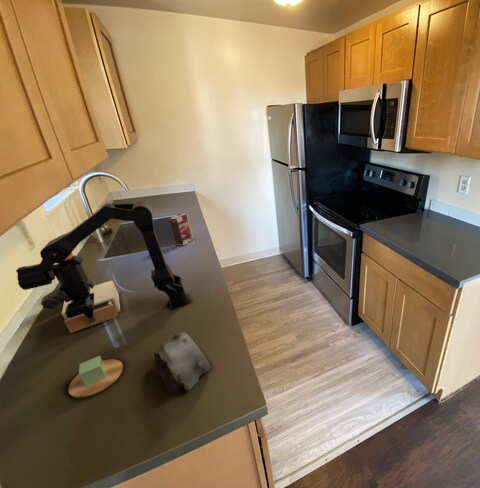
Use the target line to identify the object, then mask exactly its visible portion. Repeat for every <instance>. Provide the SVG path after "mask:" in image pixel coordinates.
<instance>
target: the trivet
mask: <svg viewBox="0 0 480 488" xmlns="http://www.w3.org/2000/svg"><path fill="white" fill-rule="evenodd" d="M102 360H103V359H102ZM103 362H104V364H105V366H106V378H104V379H102V380H99V381H97V382H95V383H93V384H91V385H88V386H85V384H84V382H83V381H82V379H81V378H80V376H79V373H78V374H77V375H76V376H75V377H74V378H73V379H72V381H71V382H70V383H69V386H68V394H69V395H70V396H71V397H72V398H74V399H85V398H89V397H93V396H95V395H97V394H99V393H101V392H103V391H105V390H106V389H107V388H109V387H110V386H111V385H113V384H114V383H115V382H116V381H117V380H118V379H119V378H120V376H121V374H122V373H123V370H124V366H123V365H124V364H123V362H121V360H118V359H115V358H109V359H104V360H103Z"/></svg>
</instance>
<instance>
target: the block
mask: <svg viewBox="0 0 480 488" xmlns="http://www.w3.org/2000/svg"><path fill="white" fill-rule="evenodd" d="M78 369H79V370H78V374H79V376H80V378H81V379H82V381H83V382H84V384H85V386H88V385H91V384H93V383H95V382H97V381H99V380H102V379H104V378H106V366H105V364H104V362H103V358H102V356H101V355H98V356H96V357H92V358H90V359H88V360H85V361H83V362H81V363H79V367H78Z"/></svg>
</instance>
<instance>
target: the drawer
mask: <svg viewBox="0 0 480 488" xmlns="http://www.w3.org/2000/svg"><path fill="white" fill-rule="evenodd" d="M116 317H119V312H117V311H116V309H115V305H114V302H113V300H109V301H106V302H103V303H100V304H97V305H94V309H93V318H90V319H89V318H88V317H87V316H85V315H84V314H80V315H77V316H74V317H71V318H68V319H67V320H65V319H64V321H63V323H64V325H65V326H66V328H67V330H68V331H69V333H70V334H72V333H75V332H78V331H80V330H84V329H86V328H89V327H91V326H93V325H94V326H95V325H98V324H100V323H102V322H106V321H109V320H111V319H114V318H116Z"/></svg>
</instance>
